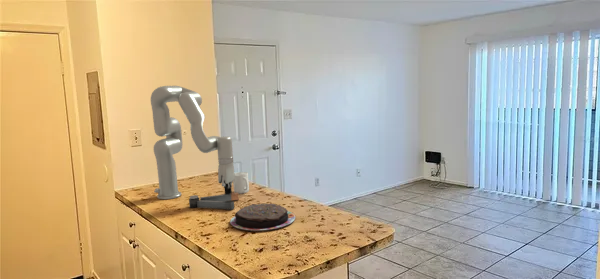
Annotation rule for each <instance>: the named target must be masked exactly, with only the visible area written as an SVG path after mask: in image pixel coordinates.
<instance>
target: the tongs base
mask: <svg viewBox="0 0 600 279" xmlns="http://www.w3.org/2000/svg"><path fill="white" fill-rule="evenodd" d="M188 203H189V205H188V207H189V208H190V209H198V208H199V209H218V210H222V209H223V210H228V211H229V210H230V211H232V210H234V209H235V201H234V200H232V201H207V200H200V197H198V199H193V200H192V199H190V198H189V199H188Z"/></svg>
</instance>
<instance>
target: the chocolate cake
mask: <svg viewBox="0 0 600 279" xmlns="http://www.w3.org/2000/svg"><path fill="white" fill-rule="evenodd" d="M295 221H296V215H295V213H293V212H291V211H290V210H288V209H287V208H285V207H284V206H282V205H280V204H275V203H267V202H266V203H251V204H250V205H247V206H244V207H242V208H240V209H239V210H237V211H236V212H235V213H234V215H233V217H232V218H231V219H230V221H229V223H230V225H231V226H232V227H233V229H237V230H239V229H240V231H245V232H252V231H253V233H262V231H264V232H270V231H277V230H280V229H282V228H286V226H289V225H291V224H292V223H294V222H295Z"/></svg>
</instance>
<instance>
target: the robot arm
mask: <svg viewBox="0 0 600 279" xmlns="http://www.w3.org/2000/svg"><path fill="white" fill-rule="evenodd" d="M174 102H178V105H179V106H180V108H181V110H182V111H183V112H182V113H184V115H185V118H187V121H188V122H189V124H190V134H191V138H192V141H193V142H194V144H195V146H196V148H197V149H198V150H199V151H200V152H201V153H203V154H208V153H211V152H214V151H216V150H217V160H218V162H217V163H218V165H217V166H218V167H217V169H218V170H217V176H218V177H217V182H218V184H221V187H223V188H224V194H230V193H233V192H232V191H233V190H232V187H233V185H232V184H233V180H234V179H235V174H234V173H235V167H234V154H233V153H234V151H233V140H232V137H231V136H216V135H211V136H207V135H206V133H205V131H204V128H203V125H204V124H203V123H204V121H205V119H206V115H205V113H204V112H203V110H202V108H201V104H202V102H203V98H202V96H201V94H200V93H198V92H197V91H194V90H191V89H188V88H186V87H183V86H180V85H164V86H159V87H157V88H155V89H154V90H153V91H152V92H151V95H150V106H151V111H152V120H153V129H154V133H155V135H157V137H162V138H161V139H159V140H157V141H156V142H155V143H154V145H153V153H154V156H155V161H156V162H155V163H156V166H157V168H156V169H157V178H158V188H157V187H156V188H155V189H154V194H157V196H156V198H157V199H159V200H171V199H175V198H179V197H181V196H182V192H181V191H179V186H178V185H179V184H178V175H177V166H176V160H175V158H174V156H173V155H175V154H179V153H180V152H181V151H182V149H183V136H182V125H181V123H180V121H179V120H178V119H177V118H175V117H171V115H170V113H171V112H170V108H169V106H168V104H167V103H174ZM163 137H166V138H163Z"/></svg>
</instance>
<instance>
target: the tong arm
mask: <svg viewBox="0 0 600 279" xmlns="http://www.w3.org/2000/svg"><path fill="white" fill-rule="evenodd" d="M198 198H199V200H207V201H239V193H237V192H236V193H235V192H232V193H230V194H225V193H223V194H215V195H210V196H201V197H199V195H195V194H193V195H190V196H189V199H192V200H193V199H198Z"/></svg>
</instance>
